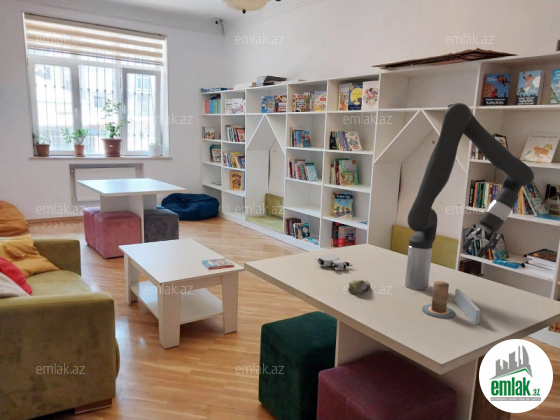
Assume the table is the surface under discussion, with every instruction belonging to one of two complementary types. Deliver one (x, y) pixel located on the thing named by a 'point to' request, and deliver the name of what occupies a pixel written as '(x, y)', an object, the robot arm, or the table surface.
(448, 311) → the mat
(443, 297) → the walnut pin
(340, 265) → the robot toy
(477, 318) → the acrylic wall
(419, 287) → the robot arm
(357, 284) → the rock
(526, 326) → the table surface
